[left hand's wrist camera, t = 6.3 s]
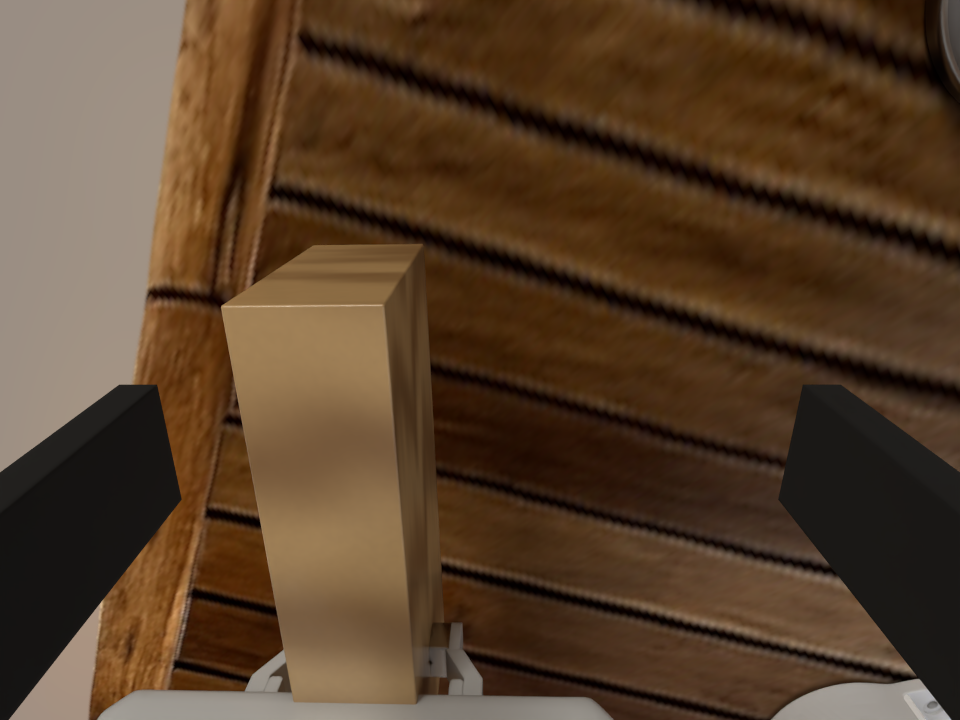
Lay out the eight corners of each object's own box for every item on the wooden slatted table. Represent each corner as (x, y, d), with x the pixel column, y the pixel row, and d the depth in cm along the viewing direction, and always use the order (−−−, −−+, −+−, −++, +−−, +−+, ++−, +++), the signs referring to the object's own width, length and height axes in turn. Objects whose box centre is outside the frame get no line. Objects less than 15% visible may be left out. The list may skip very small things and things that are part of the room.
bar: (312, 245, 27) (219, 305, 18) (423, 243, 26) (384, 304, 18) (359, 633, 35) (311, 804, 26) (444, 634, 34) (425, 807, 26)
